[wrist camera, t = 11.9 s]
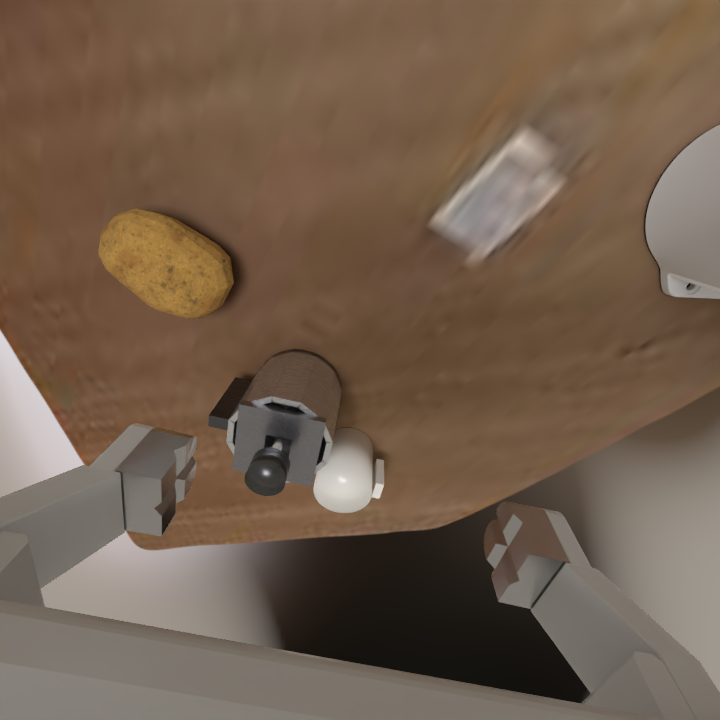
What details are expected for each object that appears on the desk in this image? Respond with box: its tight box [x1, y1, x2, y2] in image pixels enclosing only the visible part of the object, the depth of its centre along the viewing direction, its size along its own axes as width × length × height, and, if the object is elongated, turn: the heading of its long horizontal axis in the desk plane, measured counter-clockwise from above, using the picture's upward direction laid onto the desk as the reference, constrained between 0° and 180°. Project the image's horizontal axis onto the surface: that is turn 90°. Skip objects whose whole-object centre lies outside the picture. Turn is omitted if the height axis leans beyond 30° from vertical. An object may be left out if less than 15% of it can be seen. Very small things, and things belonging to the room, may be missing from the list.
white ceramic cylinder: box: [314, 428, 384, 513], centre depth 49 cm, size 8×7×8 cm
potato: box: [98, 208, 234, 318], centre depth 39 cm, size 9×13×7 cm
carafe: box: [209, 350, 342, 486], centre depth 43 cm, size 13×11×12 cm
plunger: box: [245, 402, 305, 496], centre depth 41 cm, size 8×8×15 cm
